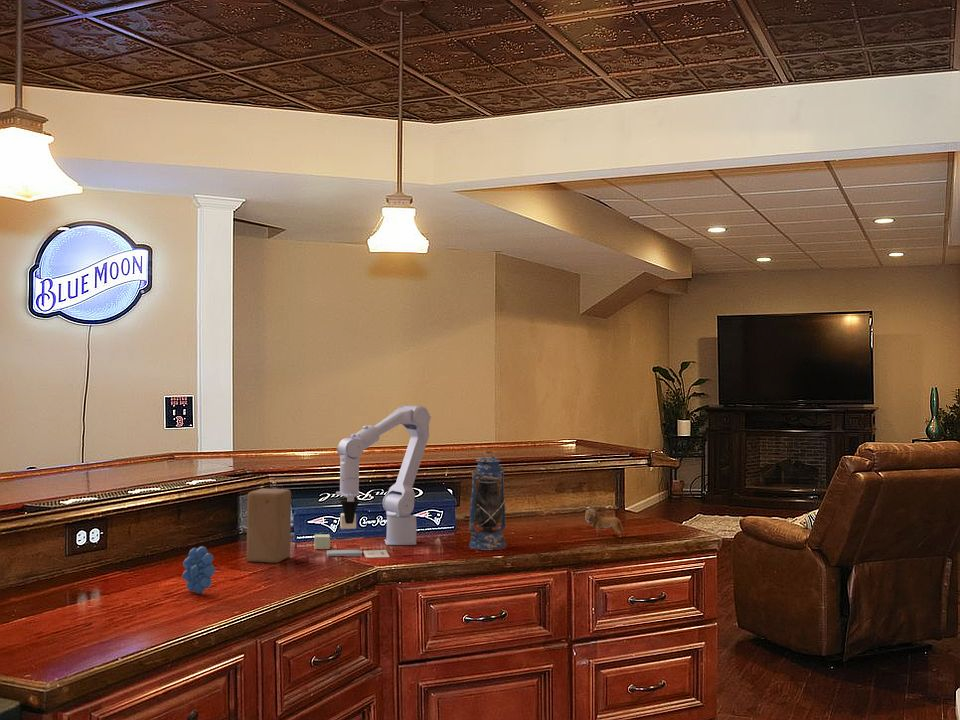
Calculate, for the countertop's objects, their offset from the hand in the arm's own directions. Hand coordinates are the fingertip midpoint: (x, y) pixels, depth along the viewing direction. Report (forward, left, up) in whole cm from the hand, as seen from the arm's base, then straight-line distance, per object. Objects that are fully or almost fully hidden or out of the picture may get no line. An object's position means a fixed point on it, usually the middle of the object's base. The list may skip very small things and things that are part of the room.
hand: (348, 522), depth 305 cm
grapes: (+40, +51, -9) cm, 65 cm away
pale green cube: (+8, -3, -9) cm, 12 cm away
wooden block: (+24, +12, -9) cm, 28 cm away
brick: (0, 0, -2) cm, 2 cm away
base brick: (+2, +8, -9) cm, 12 cm away
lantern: (-43, +2, -9) cm, 44 cm away
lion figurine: (-86, -12, -9) cm, 87 cm away
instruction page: (-8, +8, -9) cm, 14 cm away
